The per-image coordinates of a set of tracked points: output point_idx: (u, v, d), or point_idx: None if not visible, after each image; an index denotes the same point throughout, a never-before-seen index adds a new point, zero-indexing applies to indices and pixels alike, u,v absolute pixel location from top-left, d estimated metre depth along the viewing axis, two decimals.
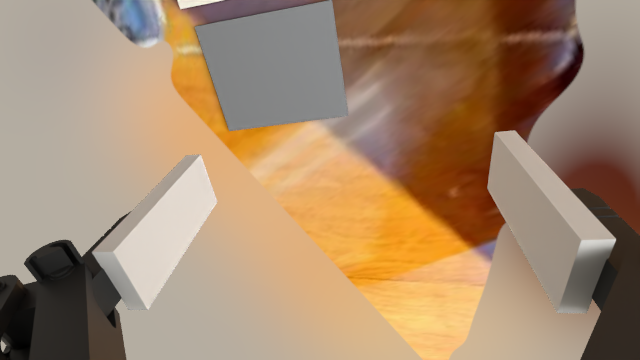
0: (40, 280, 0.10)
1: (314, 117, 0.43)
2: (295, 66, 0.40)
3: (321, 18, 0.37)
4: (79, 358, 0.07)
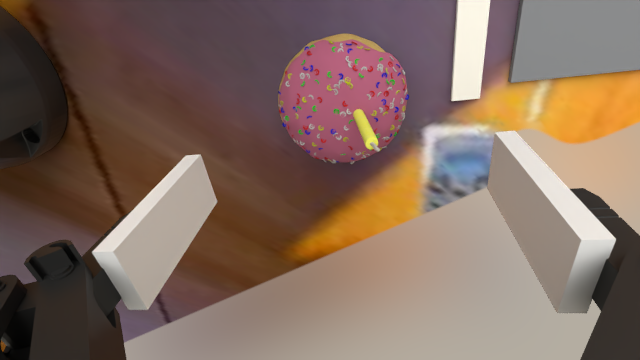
0: (40, 280, 0.10)
1: None
2: None
3: None
4: (79, 358, 0.07)
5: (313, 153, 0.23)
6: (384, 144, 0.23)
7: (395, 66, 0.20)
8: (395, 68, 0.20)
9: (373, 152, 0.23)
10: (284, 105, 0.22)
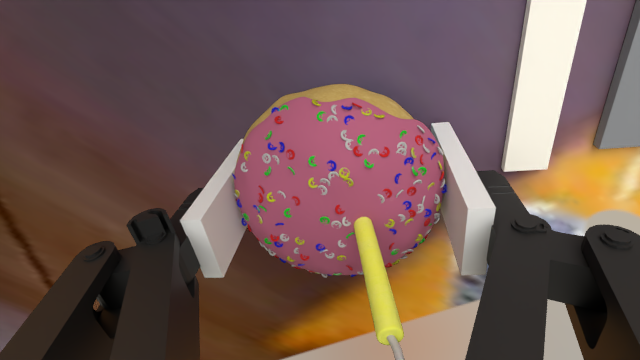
0: (138, 242, 0.11)
1: None
2: None
3: None
4: (159, 326, 0.08)
5: (291, 264, 0.15)
6: (404, 254, 0.14)
7: (427, 142, 0.12)
8: (427, 146, 0.12)
9: (386, 266, 0.14)
10: (241, 198, 0.13)
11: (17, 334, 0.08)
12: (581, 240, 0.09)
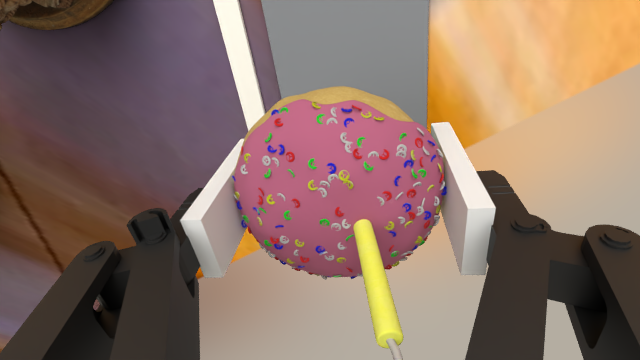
0: (138, 242, 0.11)
1: (423, 11, 0.26)
2: (342, 37, 0.28)
3: None
4: (159, 326, 0.08)
5: None
6: (404, 256, 0.14)
7: (427, 145, 0.12)
8: (427, 148, 0.12)
9: None
10: (241, 200, 0.13)
11: (17, 334, 0.08)
12: (581, 240, 0.09)
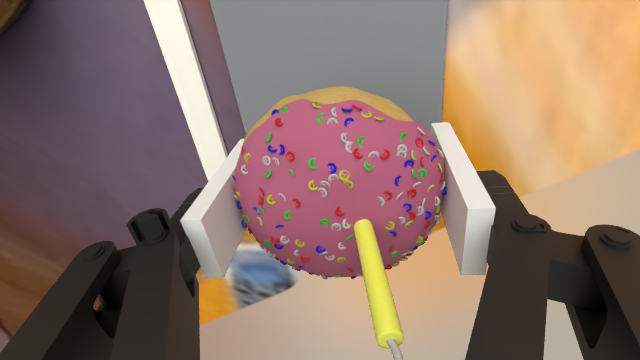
0: (138, 242, 0.11)
1: (439, 39, 0.19)
2: (326, 71, 0.21)
3: (239, 10, 0.19)
4: (159, 326, 0.08)
5: None
6: (404, 256, 0.14)
7: (427, 145, 0.12)
8: (427, 149, 0.12)
9: (386, 268, 0.14)
10: (241, 200, 0.13)
11: (17, 333, 0.08)
12: (581, 240, 0.09)
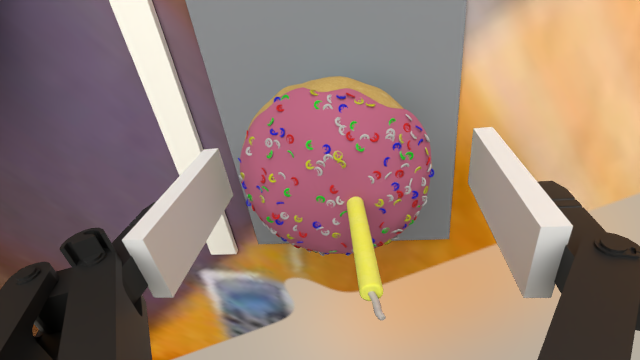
0: (74, 265, 0.10)
1: (455, 51, 0.16)
2: None
3: (221, 17, 0.17)
4: (107, 345, 0.08)
5: (291, 242, 0.16)
6: (395, 235, 0.15)
7: (414, 130, 0.13)
8: (414, 133, 0.13)
9: (378, 245, 0.16)
10: (246, 180, 0.15)
11: None
12: None
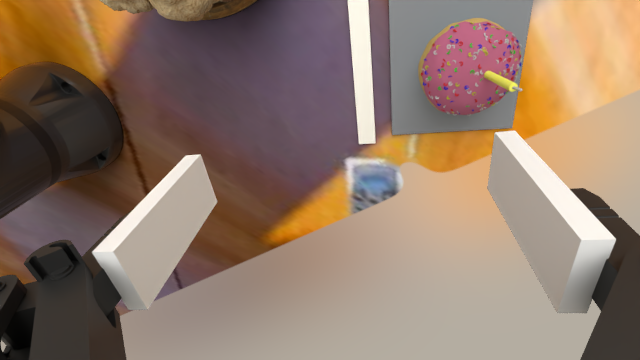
0: (40, 280, 0.10)
1: (527, 11, 0.32)
2: None
3: None
4: (79, 358, 0.07)
5: (442, 106, 0.32)
6: (497, 99, 0.31)
7: (515, 41, 0.29)
8: (515, 42, 0.29)
9: (488, 106, 0.31)
10: (429, 68, 0.30)
11: None
12: None
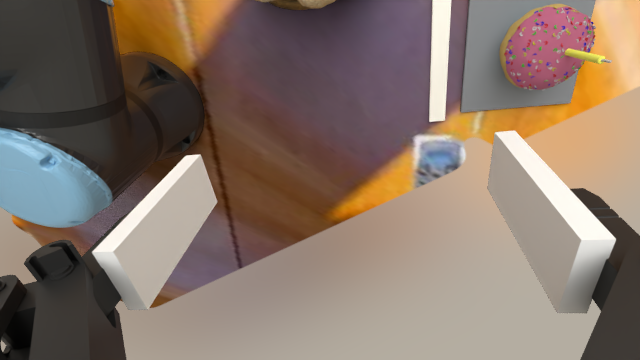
0: (40, 280, 0.10)
1: None
2: None
3: None
4: (79, 358, 0.07)
5: (522, 82, 0.37)
6: (571, 75, 0.36)
7: (590, 23, 0.34)
8: (590, 24, 0.34)
9: (562, 80, 0.36)
10: (514, 48, 0.35)
11: None
12: None
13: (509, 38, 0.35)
